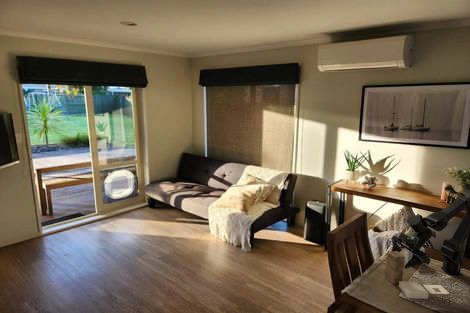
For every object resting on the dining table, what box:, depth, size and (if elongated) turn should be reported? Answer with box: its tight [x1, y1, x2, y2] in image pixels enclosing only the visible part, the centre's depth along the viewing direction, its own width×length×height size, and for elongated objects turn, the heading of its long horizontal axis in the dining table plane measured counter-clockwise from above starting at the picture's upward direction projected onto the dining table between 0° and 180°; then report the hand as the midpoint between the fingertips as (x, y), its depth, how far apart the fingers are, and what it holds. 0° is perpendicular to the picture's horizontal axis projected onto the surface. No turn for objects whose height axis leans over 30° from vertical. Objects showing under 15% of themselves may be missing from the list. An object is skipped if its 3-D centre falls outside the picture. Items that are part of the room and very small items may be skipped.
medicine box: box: [403, 247, 426, 266], centre depth 153 cm, size 8×4×9 cm, turn 84°
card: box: [422, 284, 450, 295], centre depth 131 cm, size 8×6×1 cm
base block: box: [398, 280, 429, 300], centre depth 130 cm, size 8×8×3 cm
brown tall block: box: [384, 251, 405, 285], centre depth 138 cm, size 5×5×13 cm
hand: (397, 262), depth 137 cm, fingers open, 9 cm apart
